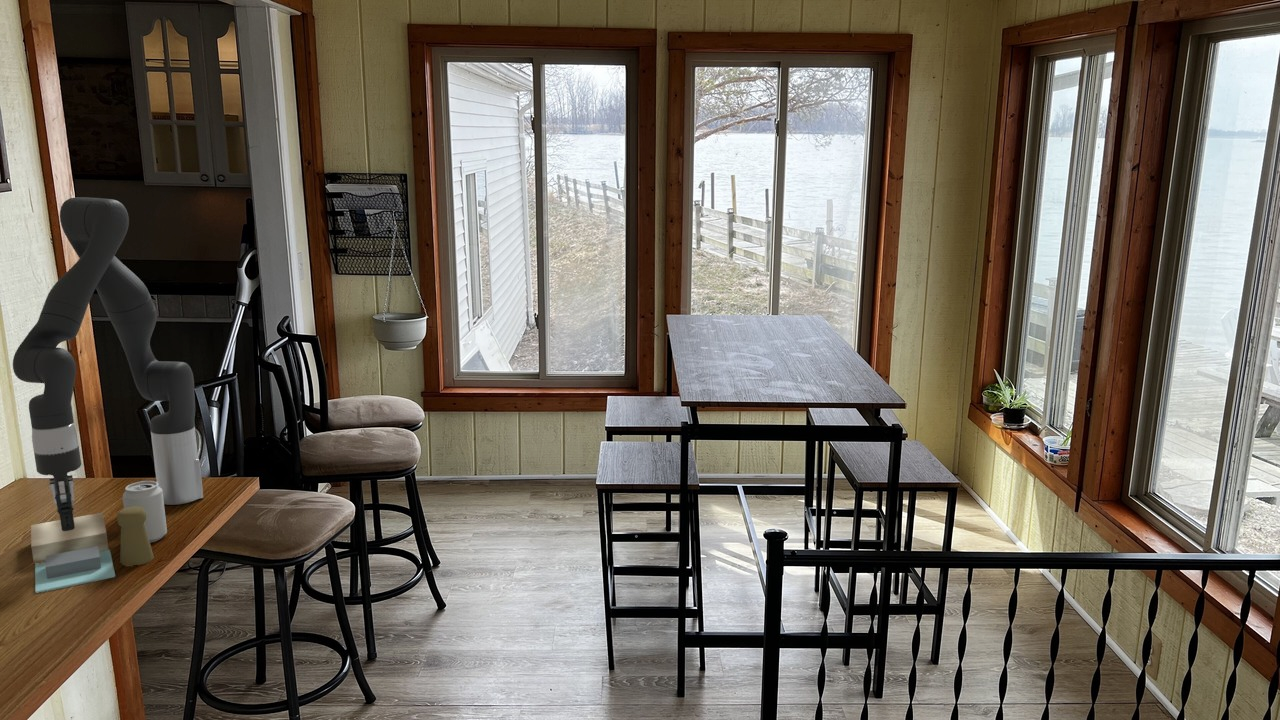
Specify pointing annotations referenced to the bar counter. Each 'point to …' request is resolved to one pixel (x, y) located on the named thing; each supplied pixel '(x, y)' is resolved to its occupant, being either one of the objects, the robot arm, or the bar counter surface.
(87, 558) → the grey rectangular block
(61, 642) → the bar counter surface
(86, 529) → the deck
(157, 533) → the can
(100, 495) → the bar counter surface
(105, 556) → the mat
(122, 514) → the cork
